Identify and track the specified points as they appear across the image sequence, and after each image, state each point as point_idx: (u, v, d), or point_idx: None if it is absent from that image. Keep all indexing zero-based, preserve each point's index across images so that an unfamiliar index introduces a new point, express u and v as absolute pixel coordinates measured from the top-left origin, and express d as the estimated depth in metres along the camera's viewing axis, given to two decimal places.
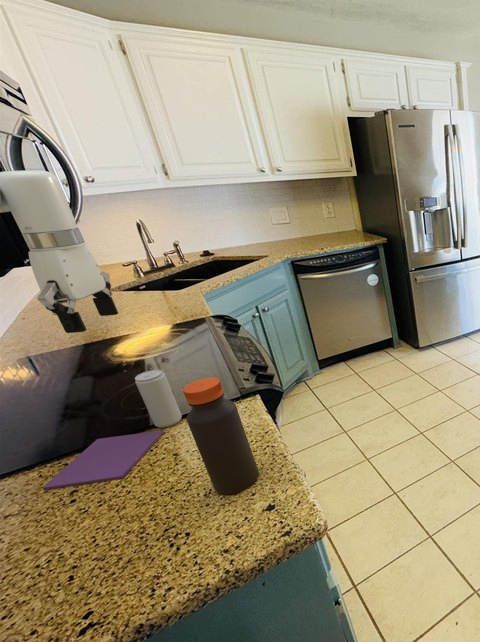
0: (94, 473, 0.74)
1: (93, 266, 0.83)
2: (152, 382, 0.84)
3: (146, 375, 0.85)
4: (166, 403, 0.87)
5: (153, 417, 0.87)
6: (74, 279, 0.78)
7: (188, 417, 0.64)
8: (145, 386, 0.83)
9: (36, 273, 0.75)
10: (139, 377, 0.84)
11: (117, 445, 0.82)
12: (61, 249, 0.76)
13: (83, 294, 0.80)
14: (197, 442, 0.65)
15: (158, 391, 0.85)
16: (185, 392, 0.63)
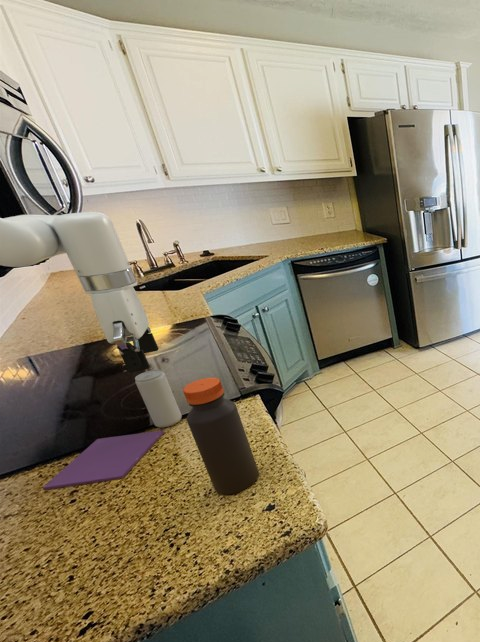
0: (94, 473, 0.74)
1: (140, 303, 0.83)
2: (152, 382, 0.84)
3: (146, 375, 0.85)
4: (166, 403, 0.87)
5: (153, 417, 0.87)
6: (136, 317, 0.78)
7: (188, 417, 0.64)
8: (145, 386, 0.83)
9: (101, 315, 0.74)
10: (139, 377, 0.84)
11: (117, 445, 0.82)
12: (124, 289, 0.76)
13: (142, 332, 0.80)
14: (197, 442, 0.65)
15: (158, 391, 0.85)
16: (185, 392, 0.63)
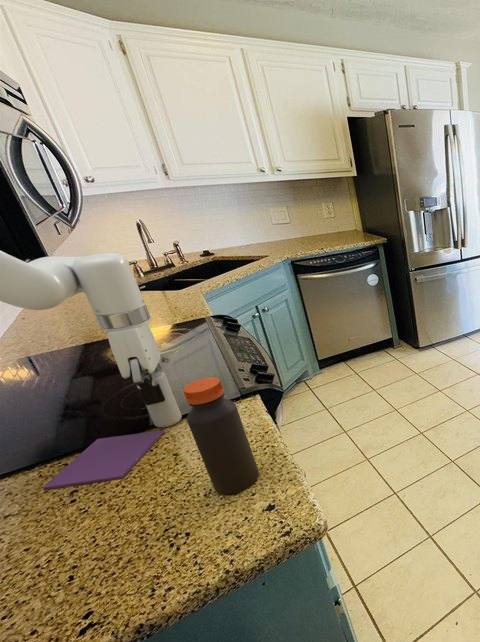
0: (94, 473, 0.74)
1: (153, 337, 0.86)
2: None
3: None
4: (166, 403, 0.87)
5: (153, 417, 0.87)
6: (149, 353, 0.81)
7: (188, 417, 0.64)
8: None
9: (116, 352, 0.77)
10: None
11: (117, 445, 0.82)
12: (139, 326, 0.79)
13: (155, 366, 0.83)
14: (197, 442, 0.65)
15: None
16: (185, 392, 0.63)
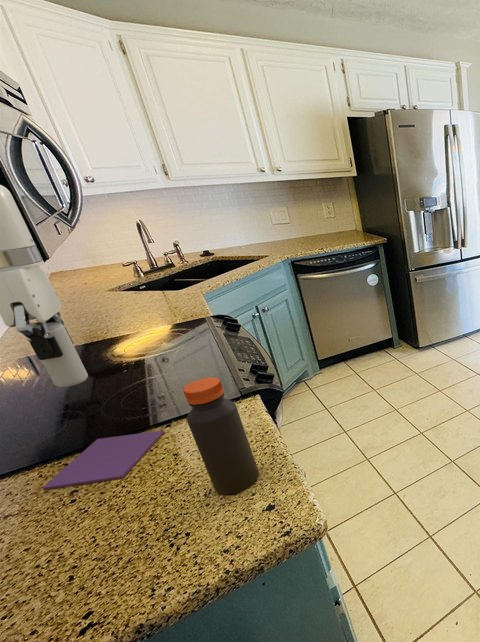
0: (94, 473, 0.74)
1: (50, 285, 0.77)
2: None
3: None
4: (66, 359, 0.78)
5: (51, 374, 0.78)
6: (40, 299, 0.73)
7: (188, 417, 0.64)
8: None
9: None
10: None
11: (117, 445, 0.82)
12: (24, 268, 0.70)
13: (48, 315, 0.74)
14: (197, 442, 0.65)
15: None
16: (185, 392, 0.63)
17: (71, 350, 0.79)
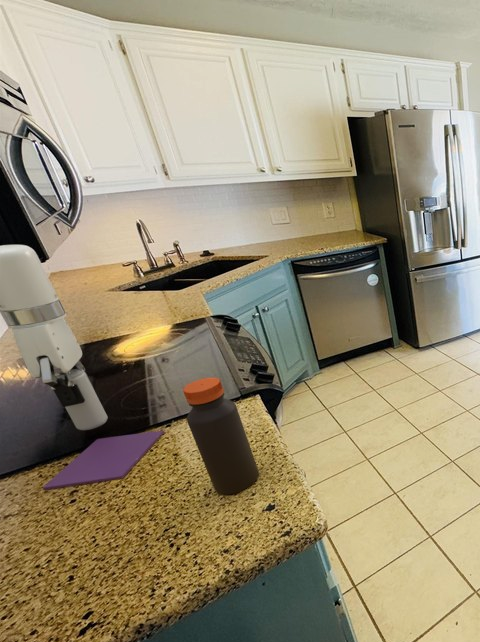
0: (94, 473, 0.74)
1: (71, 335, 0.81)
2: None
3: (63, 375, 0.80)
4: (87, 405, 0.82)
5: (73, 419, 0.82)
6: (63, 351, 0.77)
7: (188, 417, 0.64)
8: None
9: (23, 350, 0.72)
10: None
11: (117, 445, 0.82)
12: (49, 322, 0.74)
13: (71, 365, 0.78)
14: (197, 442, 0.65)
15: None
16: (185, 392, 0.63)
17: (92, 395, 0.83)
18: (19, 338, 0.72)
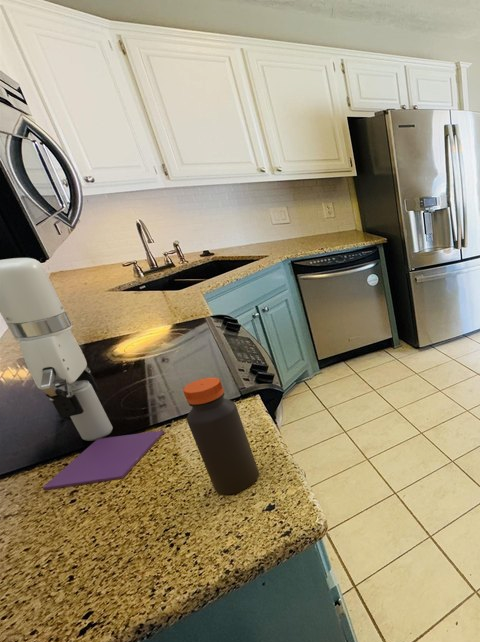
0: (94, 473, 0.74)
1: (77, 346, 0.82)
2: (76, 394, 0.80)
3: None
4: (93, 416, 0.83)
5: (79, 430, 0.83)
6: (69, 362, 0.77)
7: (188, 417, 0.64)
8: None
9: (30, 362, 0.73)
10: (62, 388, 0.80)
11: (117, 445, 0.82)
12: (55, 334, 0.75)
13: (76, 376, 0.79)
14: (197, 442, 0.65)
15: (82, 403, 0.81)
16: (185, 392, 0.63)
17: (97, 406, 0.84)
18: (26, 350, 0.73)
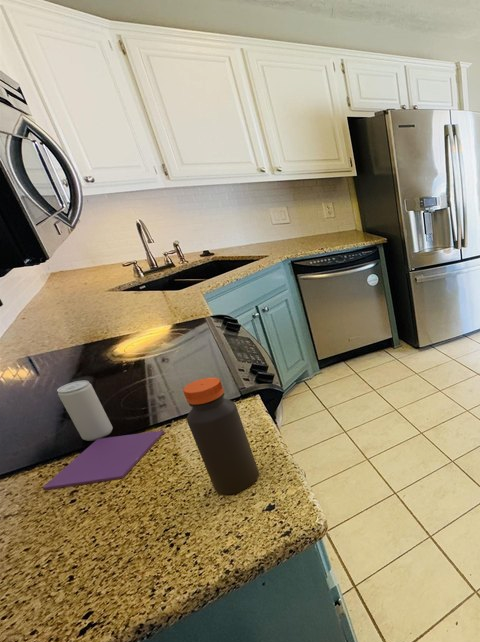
0: (94, 473, 0.74)
1: None
2: (76, 394, 0.80)
3: (70, 387, 0.81)
4: (93, 416, 0.83)
5: (79, 430, 0.83)
6: None
7: (188, 417, 0.64)
8: (67, 397, 0.80)
9: None
10: (62, 388, 0.80)
11: (117, 445, 0.82)
12: None
13: None
14: (197, 442, 0.65)
15: (82, 403, 0.81)
16: (185, 392, 0.63)
17: (98, 406, 0.84)
18: None
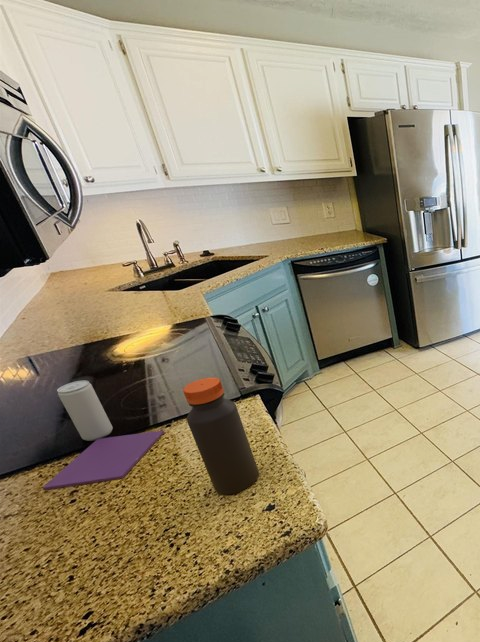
0: (94, 473, 0.74)
1: None
2: (76, 394, 0.80)
3: (70, 387, 0.81)
4: (93, 416, 0.83)
5: (79, 430, 0.83)
6: None
7: (188, 417, 0.64)
8: (67, 397, 0.80)
9: None
10: (62, 388, 0.80)
11: (117, 445, 0.82)
12: None
13: None
14: (197, 442, 0.65)
15: (82, 403, 0.81)
16: (185, 392, 0.63)
17: (98, 406, 0.84)
18: None
